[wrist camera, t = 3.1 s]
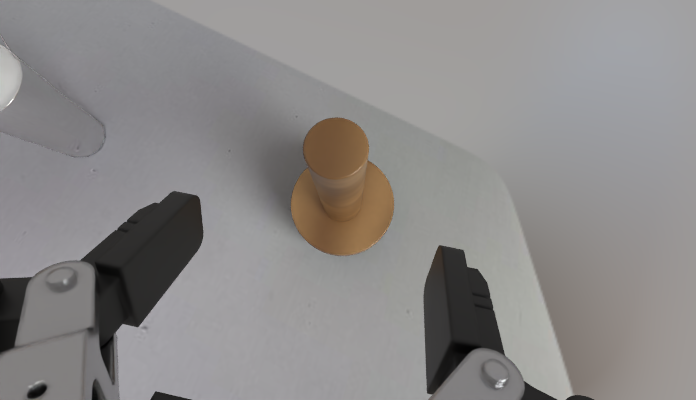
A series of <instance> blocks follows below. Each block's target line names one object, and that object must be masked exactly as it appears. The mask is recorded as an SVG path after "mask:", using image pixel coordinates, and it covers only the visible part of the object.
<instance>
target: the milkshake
mask: <svg viewBox="0 0 696 400" xmlns="http://www.w3.org/2000/svg"><path fill="white" fill-rule="evenodd" d="M0 37H1V38H2V40H3V41H4V43H5V45H6V46H7V48H8V49H9V47H8V45H7V44H6V42H5V40H4V39H3V37H2V36H1V34H0ZM7 48H5V47H4V46H2V45H0V132H1V133H4V134H7V135H10V136H13V137H16V138H19V139H22V140H25V141H27V142H30V143H33V144H36V145H39V146H42V147H45V148H48V149H51V150H54V151H56V152H59V153H62V154H65V155H68V156H71V157H89V156H90V155H92V154H93V153H95V152H96V151H98V150H99V149H100V148H101V146H102V144H103V142H104V139H105V137H106V136H105V132H104V127H103V125H102V124H101V123H100V122H99V121H97V120H96V119H95V118H93V117H92V116H91V115H89V114H88V113H87V112H86V111H84V110H83V109H82V108H80V107H79V106H78V105H76V104H75V103H74V102H72V101H71V100H70V99H68V98H67V97H66V96H65V95H63V94H62V93H61V92H59V91H58V90H57V89H56V88H54V87H53V86H52V85H51V84H50V83H49V82H47V81H46V80H45V79H44V78H43V77H42V76H40V75H39V74H38V73H37V72H35V71H34V70H33V69H32V68H31V67H29V66H28V65H27V64H26V63H24V62H23V61H22V60H21V59H20V58H18V57H17V56H16V55H15V54H13V53H12V52H11V50H10V49H9V50H8V49H7Z"/></svg>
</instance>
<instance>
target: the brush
mask: <svg viewBox="0 0 696 400" xmlns="http://www.w3.org/2000/svg"><path fill="white" fill-rule="evenodd" d="M368 153H369V144H368V139H367V137H366V135H365V133H364V131H363V130H362V129H361V128H360V127H359V126H358V125H357V124H355V123H354V122H352V121H350V120H348V119H344V118H328V119H325V120H322V121H320V122H318V123H317V124H316V125H314V126H313V127H312V128H311V129H310V130H309V132H308V133H307V135H306V137H305V140H304V144H303V155H304V159H305V161H306V164H307V166H308V168H307V169H305V170H304V172H303V173H302V174H301V175H300V177H299V178H298V180H297V182H296V184H295V186H294V189H293V192H292V197H291V213H292V217H293V221H294V223H295V226H296V228H297V229H298V231H299V233H300V234H301V235H302V237H303V238H304V239H305V240H306V241H307V242H308V243H309V244H311V245H312V246H313V247H315V248H316V249H318V250H320V251H322V252H324V253H327V254H331V255H336V256H349V255H354V254H358V253H361V252H363V251H365V250H367V249H369V248H371V247H372V246H373V245H375V244H376V243H377V242H378V241H379V240H380V239H381V238H382V236H383V235H384V234H385V232H386V230H387V229H388V227H389V225H390V222H391V220H392V216H393V211H394V197H393V192H392V189H391V186H390V184H389V181H388V180H387V178H386V176H385V175H384V174H383V173H382V171H381V170H380V169H379V168H378V167H377V166H375V165H374V164H373V163H371V162H370V161H368Z"/></svg>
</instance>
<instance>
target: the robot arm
mask: <svg viewBox="0 0 696 400" xmlns="http://www.w3.org/2000/svg"><path fill="white" fill-rule="evenodd" d="M202 239H203V224H202V215H201V205H200V199H199V197H198V196H197V195H192V194H187V193H182V192H177V191H173V192H171V193H170V194H169V195H168V196H167V197H166V198H164V199H163V200H162V201H161V202H160V203H153V204H151V205H149V206H146V207H144V208H142V209H140V210H138V211H137V212H136V213H135V214H134V215H132V216H131V217H130V218H129V219H128V220H127V222H124V223H123V224H122V225H121V226H120V227H118V230H115V231H114V232H113V233H112V234H110V235H109V236H108V237H107V238H106V239H105V240H103V241H102V242H101V243H100V244H99V245H98V246H96V247H95V248H94V249H93V250H92V251H91V252H89V253H88V254H87V255H86V256H85V257H84V258H82V259H81V260H80V261H65V262H60V263H57V264H54V265H51V266H49V267H47V268H45V269H43V270H41V271H40V272H38V273H37V274H36V275H35V276H33V277H27V278H3V279H0V400H120V397H119V380H118V350H117V335H116V331H117V330H118V329H119V327H120V326H121V325H122V324H126V325H130V326H135V327H139V325H140V324H141V323H142V322H143V320H144V319H145V318H146V316H147V315H148V314H149V313H150V311H151V310H152V309H153V307H154V306H155V305H156V304H157V302H158V301H159V300H160V298H161V297H162V296H163V295H164V293H165V292H166V291H167V289H168V288H169V287H170V286H171V284H172V283H173V282H174V280H175V279H176V278H177V277H178V275H179V274H180V273H181V271H182V270H183V269H184V268H185V266H186V265H187V264H188V262H189V261H190V260H191V259H192V257H193V256H194V255H195V253H196V252H197V251H198V249H199V248H200V245H201V243H202ZM424 324H425V352H426V379H427V393H429V394H433V395H432V396H431V397H430V398H429V400H557V399H555V398H553V397H551V396H549V395H547V394H545V393H543V392H541V391H539V390H537V389H536V388H534V387H532V386H530V385H529V384H528V383H526V382H525V381H524V380H523V377H522V375H521V373H520V371H519V370H518V368H517V367H516V366H515V364H514V363H513V362H512V361H511V360H510V359H508V358H507V357H506V356H505V354H504V350H503V346H502V342H501V337H500V333H499V329H498V325H497V321H496V317H495V313H494V310H493V305H492V301H491V299H490V293H489V288H488V284H487V282H486V280H485V279H484V278H483V276H482V275H481V273H480V272H479V271H478V269H474V268H469V267H467V264H466V258H465V253H464V251H463V250H461V249H456V248H451V247H446V246H441V245H440V246H439V247H438V249H437V251H436V254H435V257H434V259H433V262H432V265H431V268H430V271H429V273H428V276H427V279H426V283H425V288H424ZM151 400H190V399H186V398H182V397H178V396H173V395H169V394H165V393H160V392H155V393H154V395H153V396H152V398H151ZM566 400H594V399H591V398H589V397H586V396H581V395H575V396H571V397H568V398H567V399H566Z"/></svg>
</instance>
